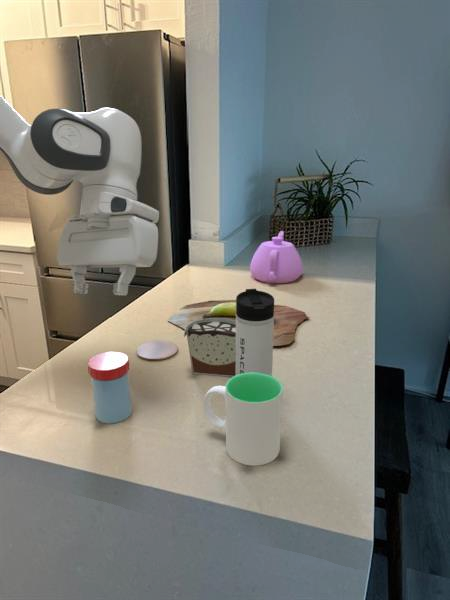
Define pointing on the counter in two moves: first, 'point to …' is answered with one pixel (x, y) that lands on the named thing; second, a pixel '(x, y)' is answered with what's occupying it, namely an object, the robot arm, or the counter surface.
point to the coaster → (157, 350)
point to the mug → (250, 417)
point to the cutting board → (226, 309)
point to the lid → (108, 365)
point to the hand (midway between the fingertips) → (99, 294)
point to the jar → (112, 399)
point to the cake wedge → (212, 346)
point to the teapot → (276, 261)
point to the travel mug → (254, 332)
